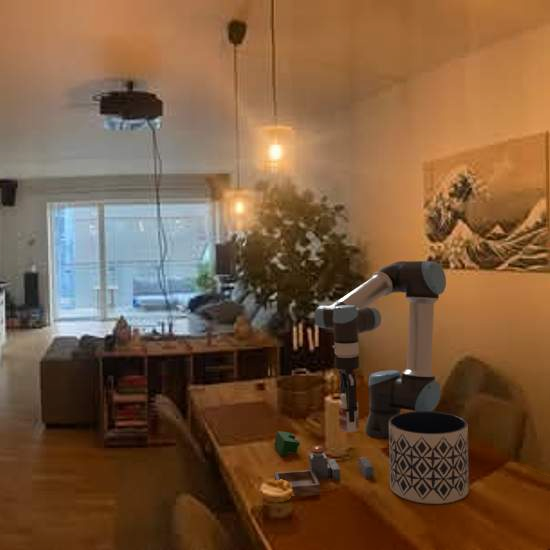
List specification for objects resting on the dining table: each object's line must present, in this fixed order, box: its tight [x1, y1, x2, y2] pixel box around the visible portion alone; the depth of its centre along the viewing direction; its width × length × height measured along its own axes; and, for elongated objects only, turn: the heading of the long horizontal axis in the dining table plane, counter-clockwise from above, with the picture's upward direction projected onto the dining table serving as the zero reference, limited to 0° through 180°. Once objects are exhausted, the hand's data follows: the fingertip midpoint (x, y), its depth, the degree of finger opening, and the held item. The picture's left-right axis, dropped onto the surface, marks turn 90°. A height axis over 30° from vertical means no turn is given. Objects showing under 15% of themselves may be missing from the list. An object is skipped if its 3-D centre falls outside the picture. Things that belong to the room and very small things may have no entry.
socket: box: [308, 452, 374, 482], centre depth 200 cm, size 19×9×6 cm, turn 96°
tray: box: [273, 469, 321, 497], centre depth 191 cm, size 12×12×3 cm
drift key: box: [310, 445, 325, 458], centre depth 200 cm, size 4×4×7 cm
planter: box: [388, 410, 470, 505], centre depth 186 cm, size 22×22×20 cm
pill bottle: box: [338, 393, 360, 433], centre depth 200 cm, size 6×6×11 cm
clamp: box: [274, 430, 301, 457], centre depth 224 cm, size 12×6×9 cm, turn 7°
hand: (349, 427), depth 200 cm, fingers closed on pill bottle, 6 cm apart
